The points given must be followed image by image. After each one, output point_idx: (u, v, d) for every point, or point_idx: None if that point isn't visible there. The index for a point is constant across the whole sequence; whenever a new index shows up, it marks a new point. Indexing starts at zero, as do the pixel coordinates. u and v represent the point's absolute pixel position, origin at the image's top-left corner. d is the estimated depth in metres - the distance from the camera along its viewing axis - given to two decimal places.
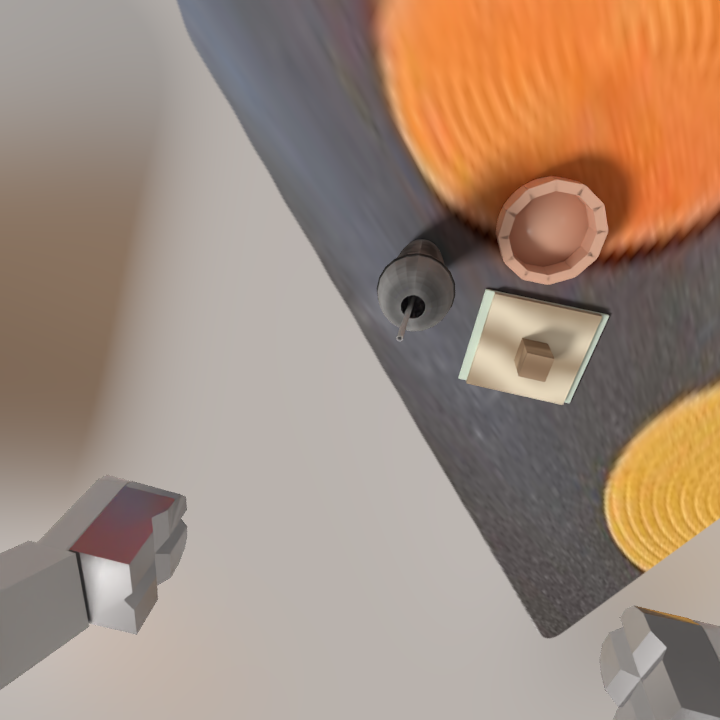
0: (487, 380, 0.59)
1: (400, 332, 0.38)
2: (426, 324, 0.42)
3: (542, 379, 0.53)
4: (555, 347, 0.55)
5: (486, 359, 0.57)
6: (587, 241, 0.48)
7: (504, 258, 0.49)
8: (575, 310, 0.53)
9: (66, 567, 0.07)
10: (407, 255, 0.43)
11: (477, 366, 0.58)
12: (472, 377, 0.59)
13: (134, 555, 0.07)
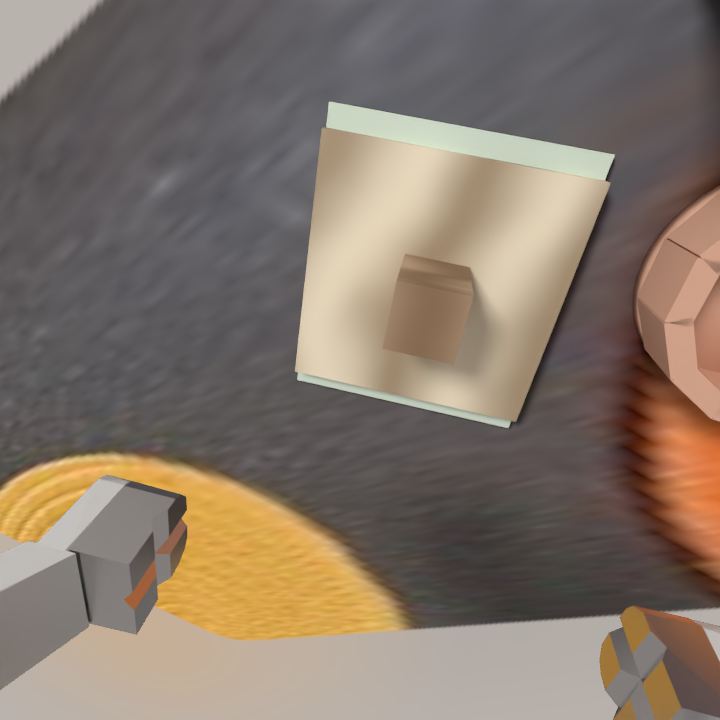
0: (338, 189, 0.21)
1: None
2: None
3: (390, 342, 0.19)
4: None
5: (403, 179, 0.20)
6: None
7: None
8: None
9: (66, 567, 0.07)
10: None
11: (381, 154, 0.20)
12: (343, 144, 0.20)
13: (134, 555, 0.07)
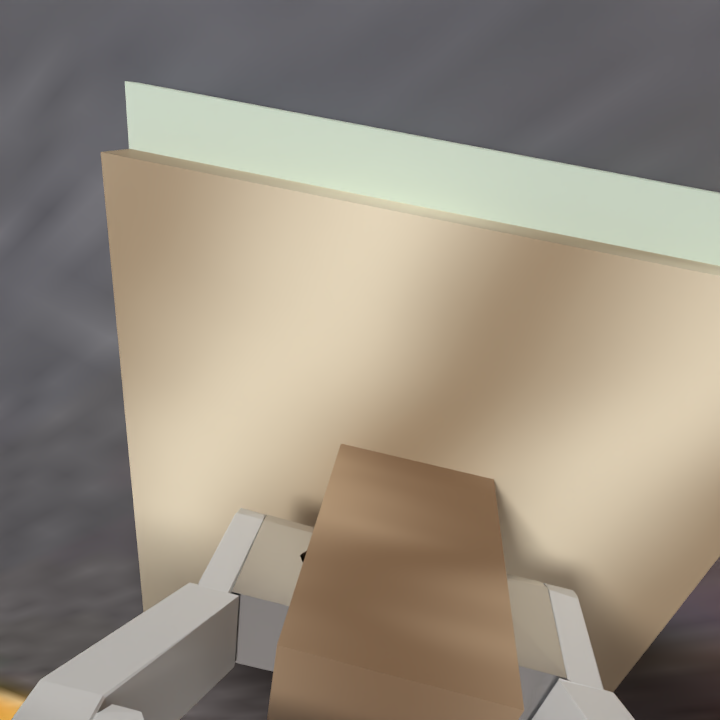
0: (168, 303, 0.08)
1: None
2: None
3: None
4: None
5: (326, 285, 0.08)
6: None
7: None
8: None
9: (230, 610, 0.07)
10: None
11: (262, 221, 0.07)
12: (161, 194, 0.08)
13: None
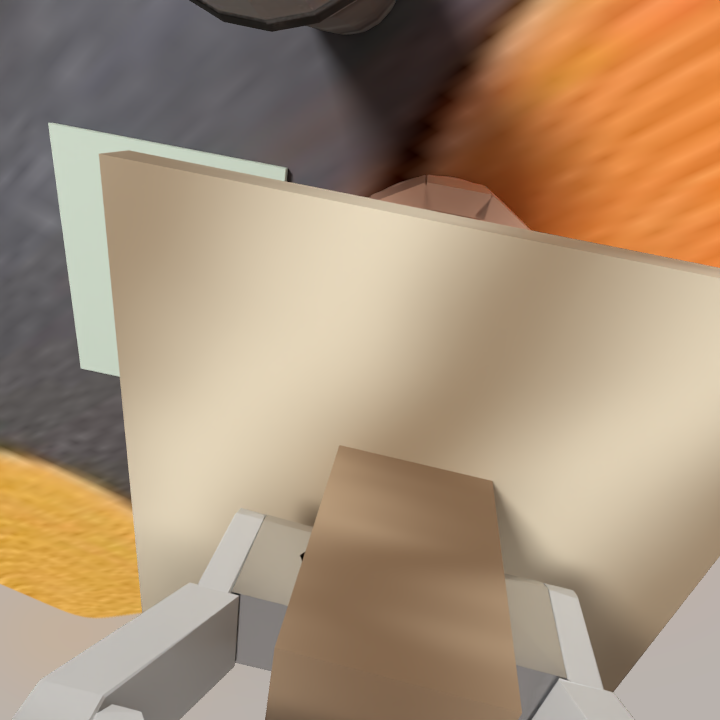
0: (166, 304, 0.08)
1: None
2: None
3: None
4: None
5: (324, 287, 0.08)
6: None
7: None
8: None
9: (230, 610, 0.07)
10: None
11: (260, 222, 0.07)
12: (159, 196, 0.08)
13: None
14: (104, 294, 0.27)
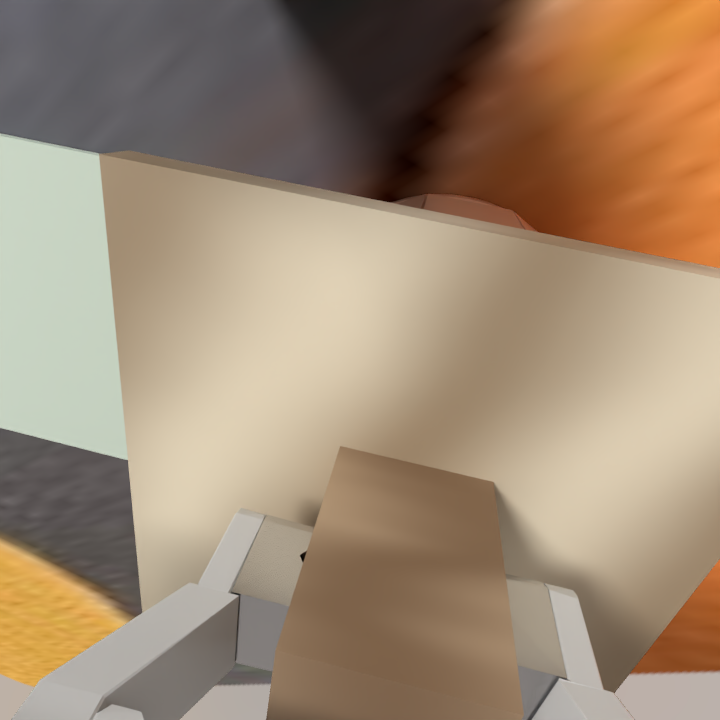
0: (167, 305, 0.08)
1: None
2: None
3: None
4: None
5: (325, 288, 0.08)
6: None
7: None
8: None
9: (230, 610, 0.07)
10: None
11: (262, 224, 0.07)
12: (160, 196, 0.08)
13: None
14: (11, 340, 0.21)
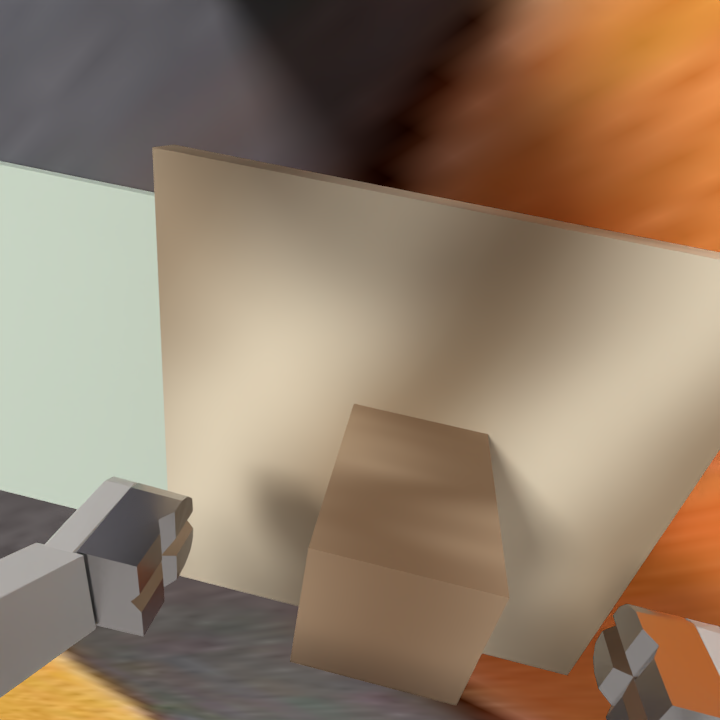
0: (205, 278, 0.10)
1: None
2: None
3: (308, 653, 0.08)
4: None
5: (343, 262, 0.09)
6: None
7: None
8: None
9: (74, 569, 0.07)
10: None
11: (290, 207, 0.09)
12: (203, 183, 0.09)
13: (142, 557, 0.07)
14: None
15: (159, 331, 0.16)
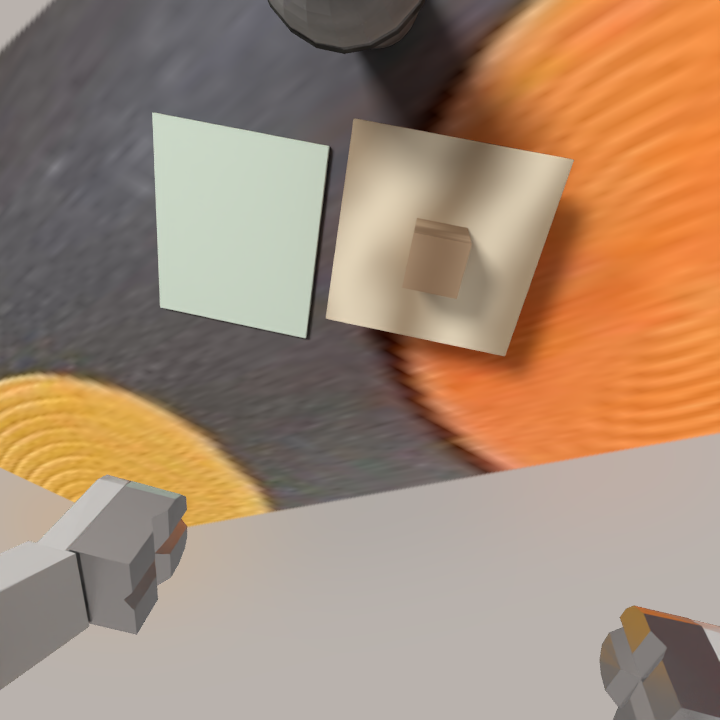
0: (365, 167, 0.27)
1: None
2: None
3: (408, 282, 0.25)
4: None
5: (416, 158, 0.26)
6: None
7: None
8: None
9: (66, 567, 0.07)
10: None
11: (399, 138, 0.26)
12: (369, 131, 0.26)
13: (134, 555, 0.07)
14: (183, 246, 0.35)
15: (313, 213, 0.33)
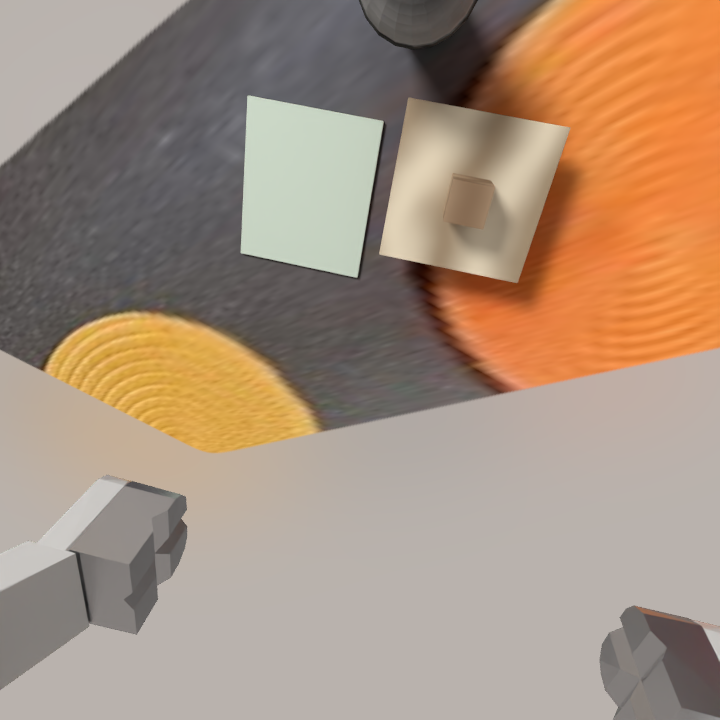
0: (415, 134, 0.36)
1: None
2: None
3: (448, 217, 0.35)
4: (473, 230, 0.39)
5: (454, 127, 0.36)
6: None
7: None
8: None
9: (66, 567, 0.07)
10: None
11: (442, 112, 0.35)
12: (420, 106, 0.35)
13: (134, 555, 0.07)
14: (263, 201, 0.45)
15: (368, 174, 0.42)
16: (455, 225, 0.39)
